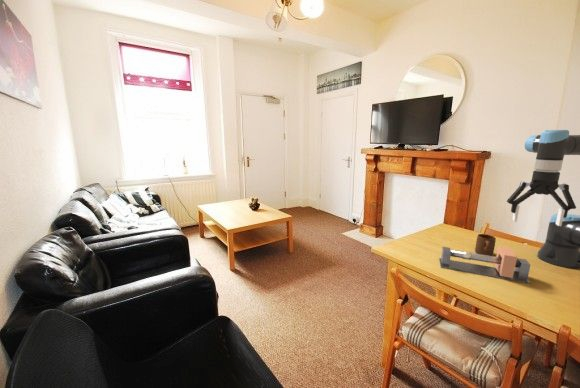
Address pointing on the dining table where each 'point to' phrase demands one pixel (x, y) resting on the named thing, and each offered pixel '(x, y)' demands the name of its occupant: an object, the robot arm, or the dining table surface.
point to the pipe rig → (445, 262)
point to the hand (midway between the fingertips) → (535, 222)
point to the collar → (506, 262)
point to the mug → (485, 244)
